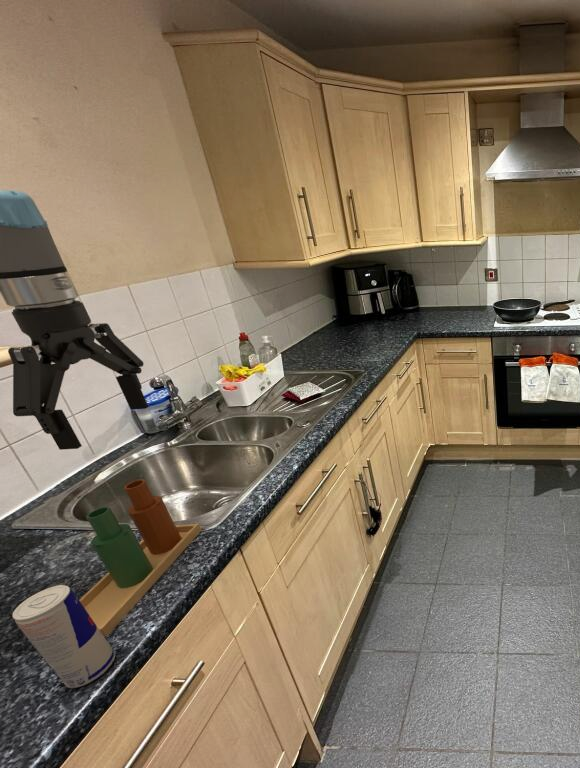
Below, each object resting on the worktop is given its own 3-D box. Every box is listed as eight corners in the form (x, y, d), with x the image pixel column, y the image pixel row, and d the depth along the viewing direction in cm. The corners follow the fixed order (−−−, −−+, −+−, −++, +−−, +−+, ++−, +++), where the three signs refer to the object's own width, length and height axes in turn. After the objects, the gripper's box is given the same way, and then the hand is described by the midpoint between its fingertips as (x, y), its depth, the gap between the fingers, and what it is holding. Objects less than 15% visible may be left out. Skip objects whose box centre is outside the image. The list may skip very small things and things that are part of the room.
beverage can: (117, 669, 61) (69, 599, 55) (65, 699, 58) (8, 628, 52) (116, 644, 65) (70, 576, 59) (67, 670, 62) (13, 601, 56)
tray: (49, 642, 66) (42, 634, 65) (159, 534, 88) (155, 527, 87) (106, 637, 66) (101, 629, 66) (202, 530, 89) (198, 523, 88)
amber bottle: (144, 557, 82) (109, 493, 76) (163, 538, 87) (131, 477, 81) (170, 555, 82) (137, 491, 76) (188, 536, 87) (158, 475, 81)
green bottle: (111, 591, 75) (68, 524, 69) (133, 568, 80) (96, 503, 73) (140, 588, 75) (100, 521, 69) (160, 566, 80) (125, 501, 73)
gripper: (-24, 324, 50) (60, 468, 58) (138, 287, 72) (181, 394, 81) (-88, 327, 49) (6, 471, 58) (95, 289, 72) (143, 396, 81)
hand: (108, 426), depth 70 cm, fingers open, 13 cm apart
